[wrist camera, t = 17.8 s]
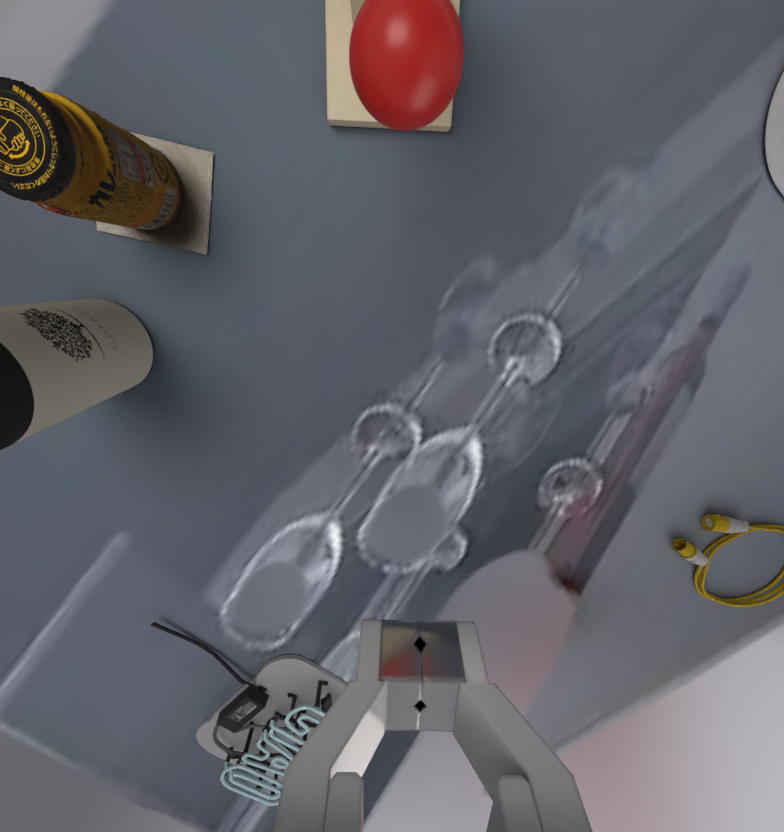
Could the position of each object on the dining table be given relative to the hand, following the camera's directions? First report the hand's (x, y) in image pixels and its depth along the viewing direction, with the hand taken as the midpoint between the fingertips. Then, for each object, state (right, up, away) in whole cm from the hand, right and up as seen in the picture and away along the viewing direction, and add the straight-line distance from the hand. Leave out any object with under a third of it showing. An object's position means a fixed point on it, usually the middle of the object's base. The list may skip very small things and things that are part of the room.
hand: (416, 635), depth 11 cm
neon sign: (-20, -29, +39) cm, 53 cm away
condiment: (-19, +23, +20) cm, 36 cm away
